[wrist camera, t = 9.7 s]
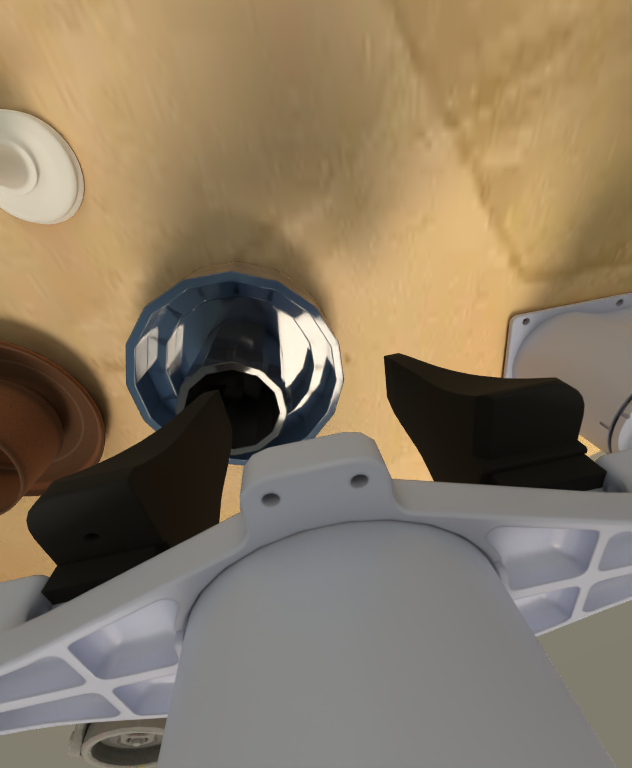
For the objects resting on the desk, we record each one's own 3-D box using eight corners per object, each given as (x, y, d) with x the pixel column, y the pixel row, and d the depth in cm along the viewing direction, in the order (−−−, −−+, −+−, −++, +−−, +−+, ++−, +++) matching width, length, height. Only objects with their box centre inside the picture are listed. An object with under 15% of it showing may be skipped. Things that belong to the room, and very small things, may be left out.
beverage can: (137, 536, 29) (60, 717, 19) (232, 545, 31) (211, 714, 21) (130, 599, 33) (64, 779, 23) (216, 603, 35) (191, 772, 25)
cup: (273, 312, 21) (273, 353, 15) (289, 383, 24) (294, 443, 17) (192, 328, 21) (159, 375, 15) (217, 397, 24) (197, 463, 17)
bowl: (316, 245, 20) (326, 252, 16) (340, 408, 26) (353, 444, 22) (120, 281, 20) (83, 298, 16) (188, 439, 26) (173, 480, 22)
